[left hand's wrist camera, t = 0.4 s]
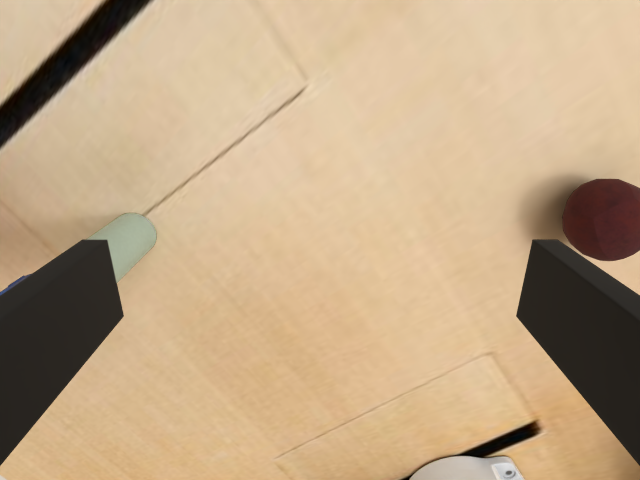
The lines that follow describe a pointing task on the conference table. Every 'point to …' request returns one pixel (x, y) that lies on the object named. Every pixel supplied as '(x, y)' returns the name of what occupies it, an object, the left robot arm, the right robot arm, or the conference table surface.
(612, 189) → the dark red ball
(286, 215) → the conference table surface
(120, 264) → the green bottle
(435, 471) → the right robot arm
